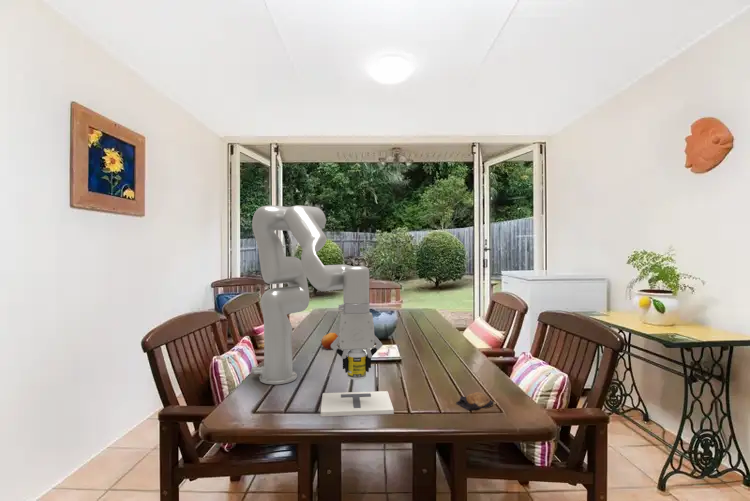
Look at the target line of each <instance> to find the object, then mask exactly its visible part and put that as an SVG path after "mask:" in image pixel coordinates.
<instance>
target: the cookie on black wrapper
mask: <svg viewBox="0 0 750 501" xmlns="http://www.w3.org/2000/svg"><path fill="white" fill-rule="evenodd" d="M455 402H456V403H455V404H456V405H457V406H459V407H461V408H463V409H464V410H466V411H470V412H478V411H481V410H484V409H487V408H490V407H491V408H492V407H493V406H495V405H497V402H496V401H494V400H493V401H492V400H491V398H490V397H489V396H487V395H486V394H485V393H483V392H481V391H477V392H472V393H469V394H468V395H466V396H464V395H463V396H460V397H459V400H458V401H455Z"/></svg>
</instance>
